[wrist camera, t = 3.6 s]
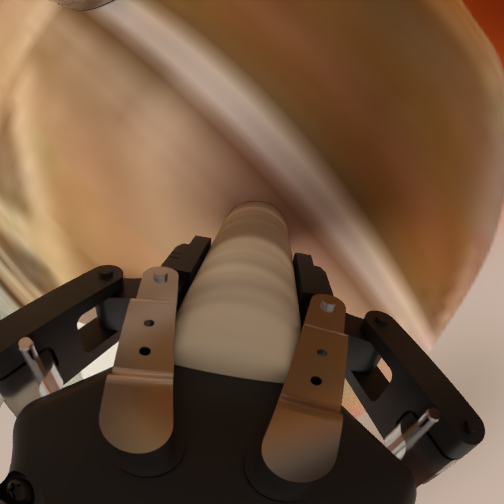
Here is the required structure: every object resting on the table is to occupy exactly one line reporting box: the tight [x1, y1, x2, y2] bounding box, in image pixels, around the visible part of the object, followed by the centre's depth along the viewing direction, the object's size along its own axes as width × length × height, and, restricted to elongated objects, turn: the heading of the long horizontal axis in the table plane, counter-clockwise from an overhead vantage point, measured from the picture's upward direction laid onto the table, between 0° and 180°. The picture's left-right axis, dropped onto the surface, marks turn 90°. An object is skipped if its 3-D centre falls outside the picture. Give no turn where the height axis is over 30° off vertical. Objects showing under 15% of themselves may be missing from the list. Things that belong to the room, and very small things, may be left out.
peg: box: [174, 201, 301, 383], centre depth 11 cm, size 4×4×12 cm
